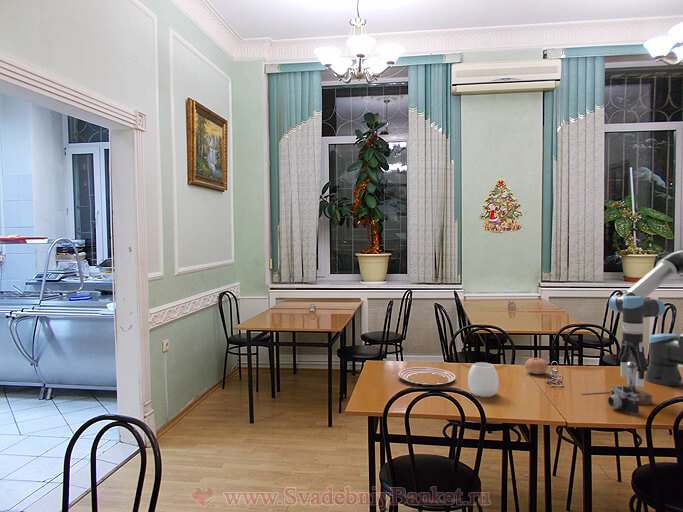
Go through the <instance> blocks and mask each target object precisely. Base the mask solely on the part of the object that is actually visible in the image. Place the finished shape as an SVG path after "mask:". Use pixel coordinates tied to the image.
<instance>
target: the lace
mask: <svg viewBox="0 0 683 512" xmlns="http://www.w3.org/2000/svg"><path fill="white" fill-rule="evenodd" d="M596 394H597V395H599V394H611V391H601V392H600V391H599V392H588V393H587V392H586V393H580V395H581V396H584V395H585V396H586V395H587V396H588V395H596Z"/></svg>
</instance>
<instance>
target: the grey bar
mask: <svg viewBox="0 0 683 512" xmlns="http://www.w3.org/2000/svg"><path fill="white" fill-rule="evenodd" d="M636 370H637V366H636V363H635V361H628V362H627V377H626V387H629V388H631V389H632V391H633V393H636V387H637V386H636Z"/></svg>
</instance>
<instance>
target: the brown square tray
mask: <svg viewBox="0 0 683 512" xmlns="http://www.w3.org/2000/svg"><path fill="white" fill-rule="evenodd" d="M612 388H614V387H613V386H612ZM634 394H635V395H637V398H638V399H639V405H640V404H641V405H646V404H647V405H648V404H649V405H652V404H653V395H652V394H650V393H649V392H647V391H645V390H643V389H642V388H640V387H638V386H636V393H634Z"/></svg>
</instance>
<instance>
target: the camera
mask: <svg viewBox="0 0 683 512" xmlns="http://www.w3.org/2000/svg"><path fill="white" fill-rule="evenodd" d="M613 387H614V388H613ZM610 394H611V396H608V397H607V402H608V405H609V406H610V407H612V408H613V409H619V410H622V411H625V412H626V413H628V414H629V415H635V416H637V415H639V411H640V410H639V408H640V404H639V399H638V398H637V395H635V394H634V393H633V391H632V389H631V388H629V387H627V386H624V385H615V384H614V385H613V386H612V388H611V390H610Z"/></svg>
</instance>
